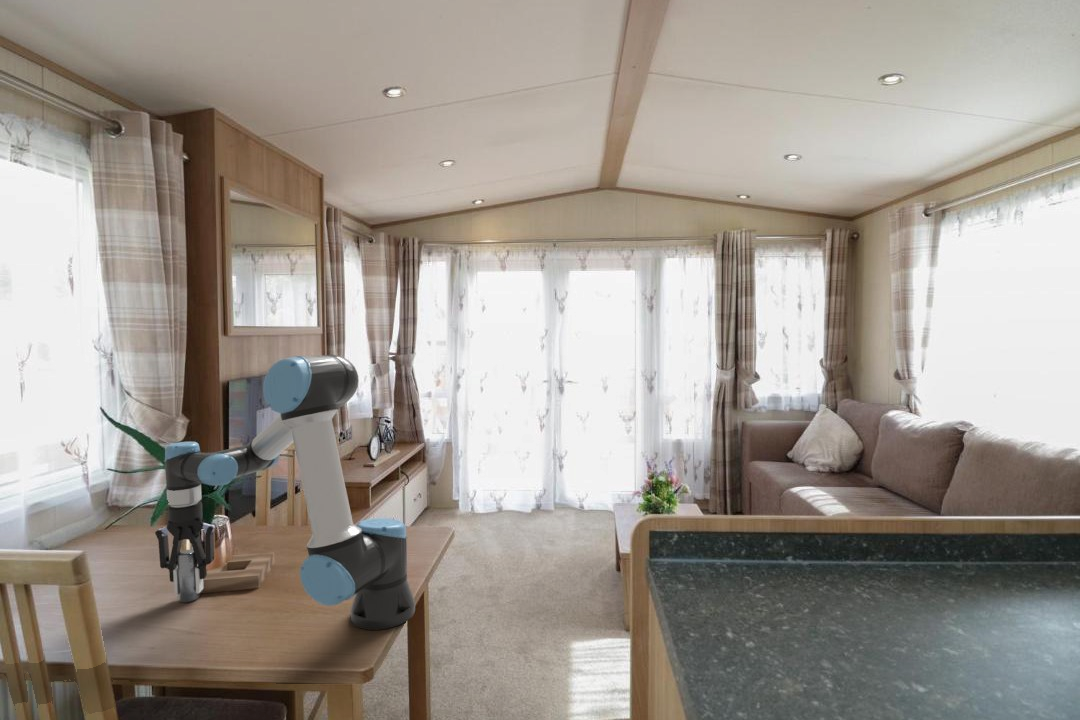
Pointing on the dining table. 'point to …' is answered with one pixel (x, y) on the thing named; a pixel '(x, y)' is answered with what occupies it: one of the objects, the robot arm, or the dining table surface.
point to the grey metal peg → (187, 575)
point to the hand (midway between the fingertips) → (189, 591)
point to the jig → (239, 573)
